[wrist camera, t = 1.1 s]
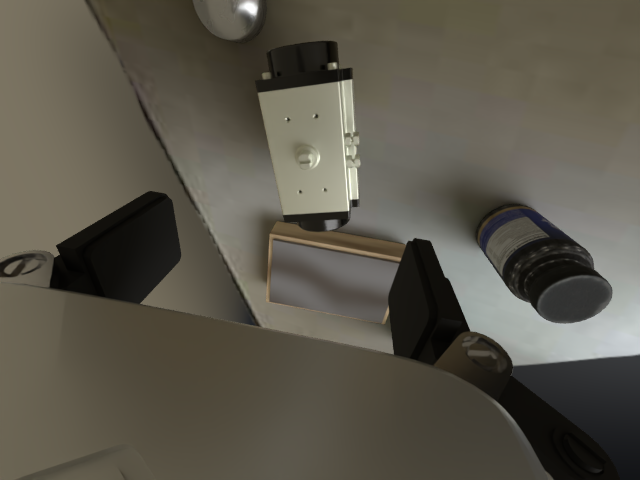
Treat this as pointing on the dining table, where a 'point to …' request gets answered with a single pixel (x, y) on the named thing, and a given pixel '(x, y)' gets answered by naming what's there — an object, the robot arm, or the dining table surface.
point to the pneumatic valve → (311, 134)
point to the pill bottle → (542, 265)
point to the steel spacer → (232, 18)
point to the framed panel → (331, 272)
